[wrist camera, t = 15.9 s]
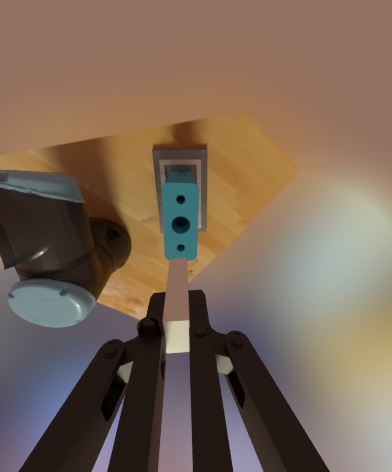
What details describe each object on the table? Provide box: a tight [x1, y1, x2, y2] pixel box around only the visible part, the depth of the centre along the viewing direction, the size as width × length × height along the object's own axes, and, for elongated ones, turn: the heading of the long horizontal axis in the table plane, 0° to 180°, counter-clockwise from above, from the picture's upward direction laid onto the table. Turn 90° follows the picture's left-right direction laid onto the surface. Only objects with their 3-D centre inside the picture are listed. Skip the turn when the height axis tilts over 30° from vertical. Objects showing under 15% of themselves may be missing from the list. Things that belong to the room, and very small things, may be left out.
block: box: [162, 172, 199, 260], centre depth 36 cm, size 12×5×20 cm, turn 178°
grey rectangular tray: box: [152, 149, 207, 233], centre depth 45 cm, size 12×20×3 cm, turn 1°
